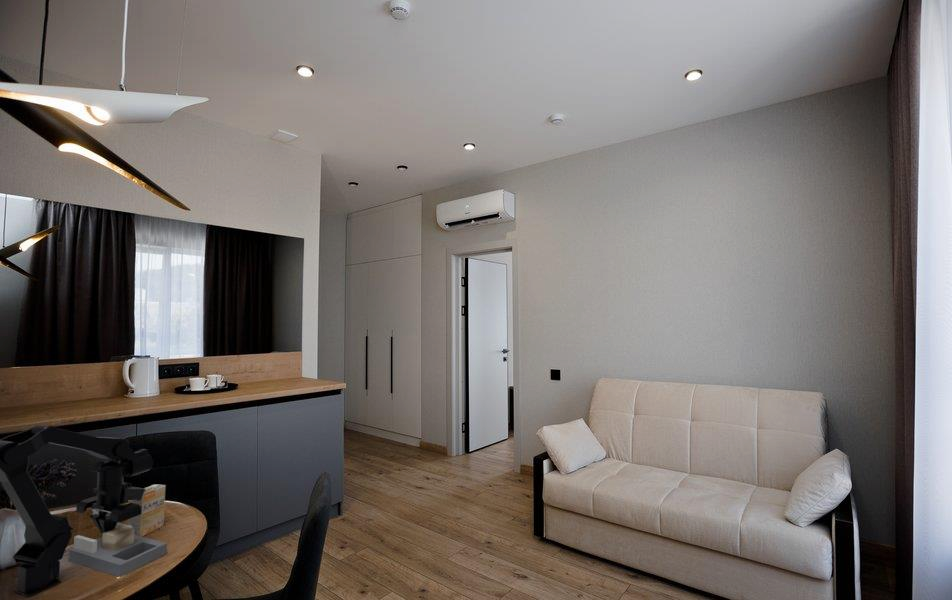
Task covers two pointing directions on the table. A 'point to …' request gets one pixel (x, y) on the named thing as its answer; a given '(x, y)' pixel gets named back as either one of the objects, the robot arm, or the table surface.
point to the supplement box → (149, 510)
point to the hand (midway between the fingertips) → (107, 539)
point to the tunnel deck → (116, 554)
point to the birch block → (118, 538)
